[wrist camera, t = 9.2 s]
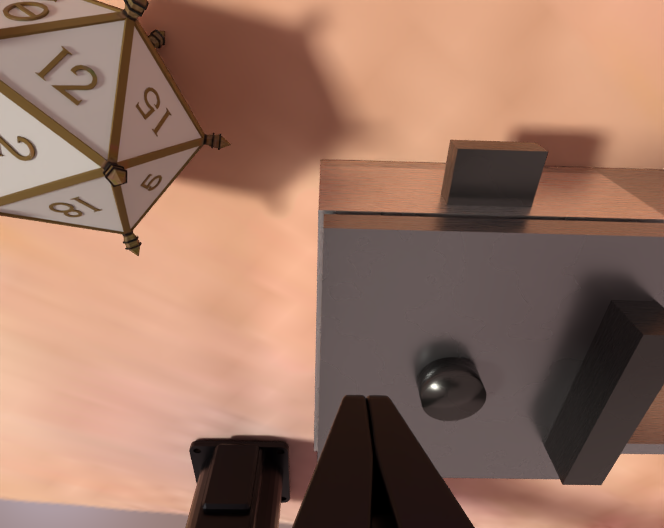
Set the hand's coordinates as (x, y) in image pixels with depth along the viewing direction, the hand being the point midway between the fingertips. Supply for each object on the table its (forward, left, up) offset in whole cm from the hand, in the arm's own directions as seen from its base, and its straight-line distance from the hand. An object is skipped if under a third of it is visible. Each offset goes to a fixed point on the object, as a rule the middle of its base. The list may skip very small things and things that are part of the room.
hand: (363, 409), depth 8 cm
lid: (-6, -5, -8) cm, 11 cm away
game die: (+3, +9, -13) cm, 16 cm away
